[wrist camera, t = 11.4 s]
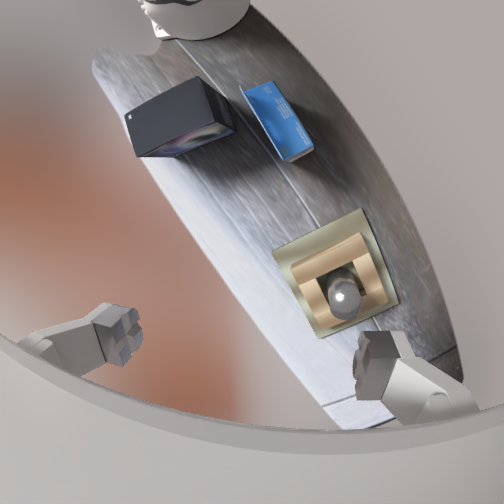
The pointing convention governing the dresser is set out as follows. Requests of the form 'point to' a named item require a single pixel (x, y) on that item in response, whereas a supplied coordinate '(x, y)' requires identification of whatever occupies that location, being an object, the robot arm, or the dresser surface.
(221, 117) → the small box
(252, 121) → the dresser surface
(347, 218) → the hub block
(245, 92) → the label tape box
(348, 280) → the peg
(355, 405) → the dresser surface
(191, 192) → the dresser surface
